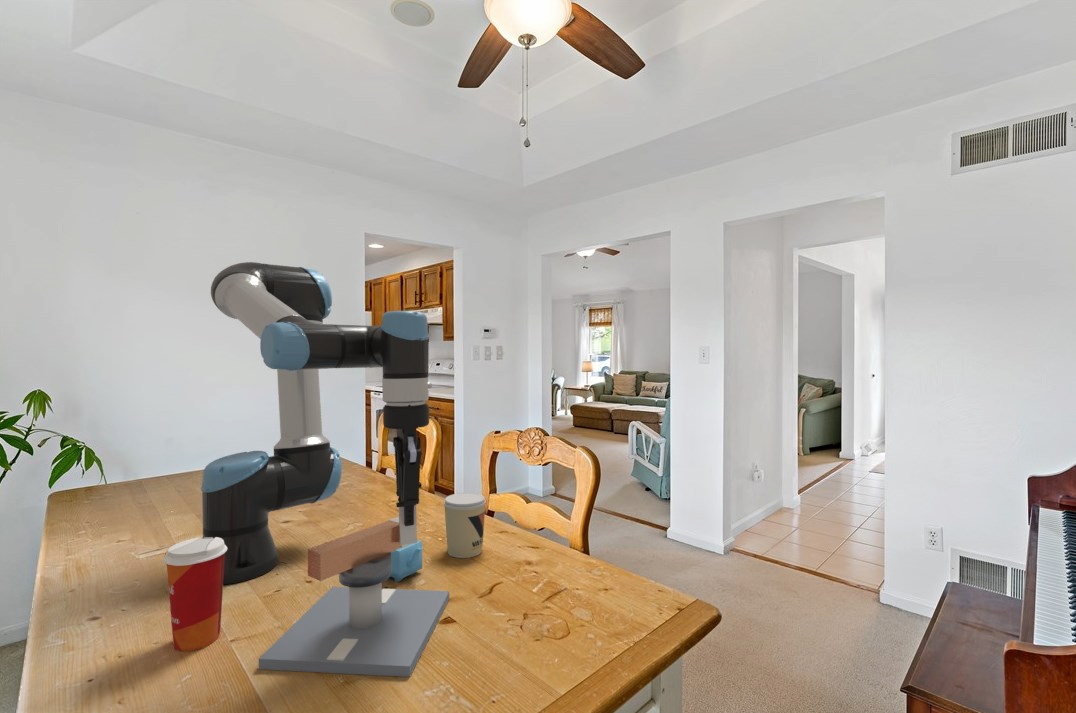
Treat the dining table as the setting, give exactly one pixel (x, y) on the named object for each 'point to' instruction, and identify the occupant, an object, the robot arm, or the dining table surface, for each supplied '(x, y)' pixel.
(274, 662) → the striped base plate
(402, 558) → the teapot
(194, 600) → the coffee cup
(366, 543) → the t handle
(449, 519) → the coffee cup
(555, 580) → the dining table surface
